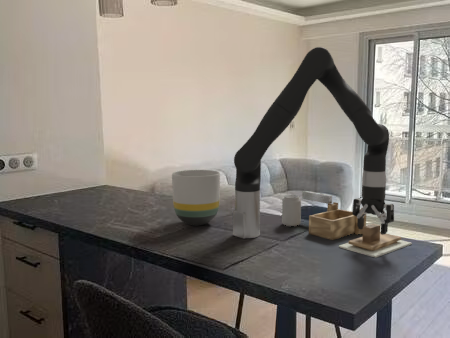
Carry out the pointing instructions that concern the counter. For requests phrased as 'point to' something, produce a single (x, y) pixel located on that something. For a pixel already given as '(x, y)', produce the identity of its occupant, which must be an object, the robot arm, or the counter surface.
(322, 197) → the bolt
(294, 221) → the can
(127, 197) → the counter surface
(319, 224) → the toolbox
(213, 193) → the planter
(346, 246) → the mat
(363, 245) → the lid
